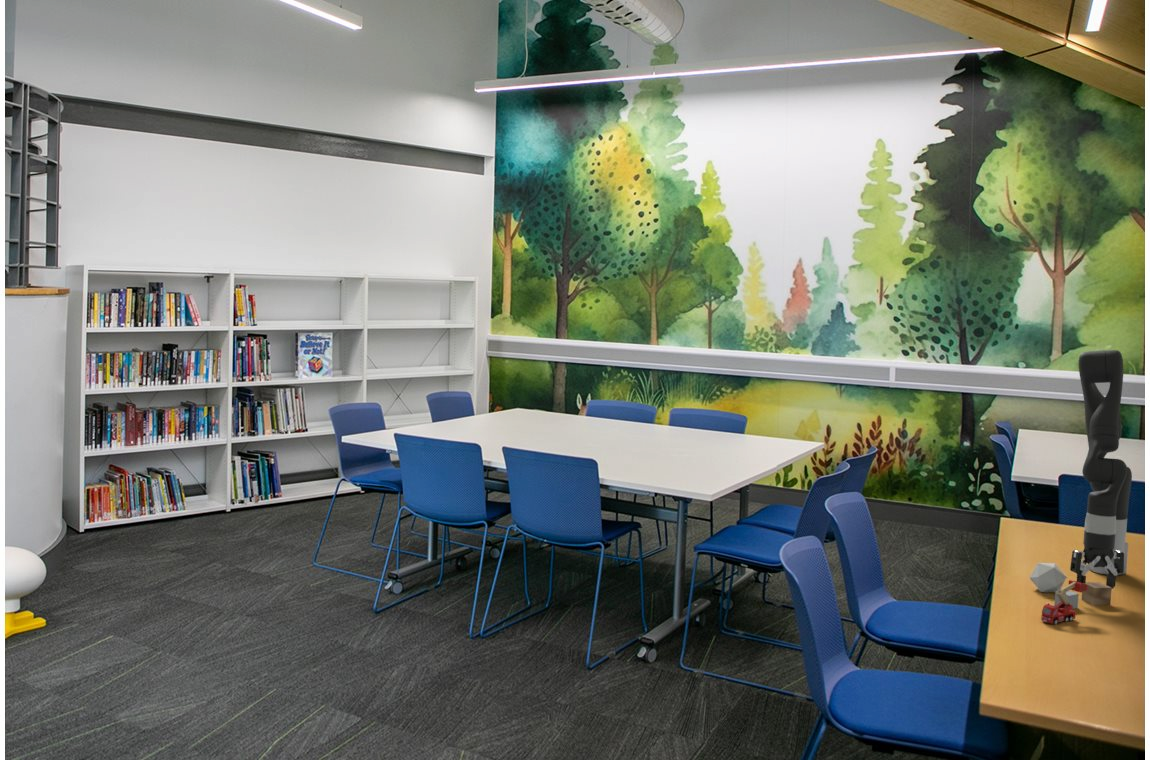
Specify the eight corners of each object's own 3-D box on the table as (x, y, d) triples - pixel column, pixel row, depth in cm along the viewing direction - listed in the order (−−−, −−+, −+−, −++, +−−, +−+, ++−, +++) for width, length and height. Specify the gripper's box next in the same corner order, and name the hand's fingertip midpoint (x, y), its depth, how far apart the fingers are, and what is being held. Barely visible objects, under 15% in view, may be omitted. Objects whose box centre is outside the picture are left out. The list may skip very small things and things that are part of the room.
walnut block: (1097, 599, 262) (1099, 582, 262) (1110, 605, 257) (1111, 587, 257) (1081, 599, 262) (1082, 582, 261) (1093, 605, 257) (1094, 587, 256)
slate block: (1064, 603, 258) (1065, 589, 258) (1077, 608, 254) (1078, 593, 254) (1054, 605, 256) (1055, 591, 256) (1068, 610, 252) (1069, 595, 252)
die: (1062, 599, 263) (1076, 570, 266) (1034, 582, 264) (1048, 553, 267) (1047, 601, 271) (1061, 572, 273) (1020, 584, 272) (1034, 556, 275)
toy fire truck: (1039, 621, 243) (1041, 585, 242) (1073, 614, 249) (1076, 578, 248) (1051, 625, 240) (1053, 588, 239) (1085, 618, 246) (1087, 582, 245)
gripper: (1114, 527, 262) (1109, 584, 264) (1067, 526, 261) (1062, 584, 262) (1133, 533, 255) (1128, 592, 256) (1085, 533, 253) (1080, 592, 254)
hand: (1095, 588), depth 259 cm, fingers open, 8 cm apart
